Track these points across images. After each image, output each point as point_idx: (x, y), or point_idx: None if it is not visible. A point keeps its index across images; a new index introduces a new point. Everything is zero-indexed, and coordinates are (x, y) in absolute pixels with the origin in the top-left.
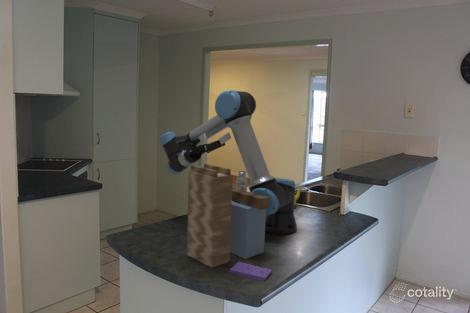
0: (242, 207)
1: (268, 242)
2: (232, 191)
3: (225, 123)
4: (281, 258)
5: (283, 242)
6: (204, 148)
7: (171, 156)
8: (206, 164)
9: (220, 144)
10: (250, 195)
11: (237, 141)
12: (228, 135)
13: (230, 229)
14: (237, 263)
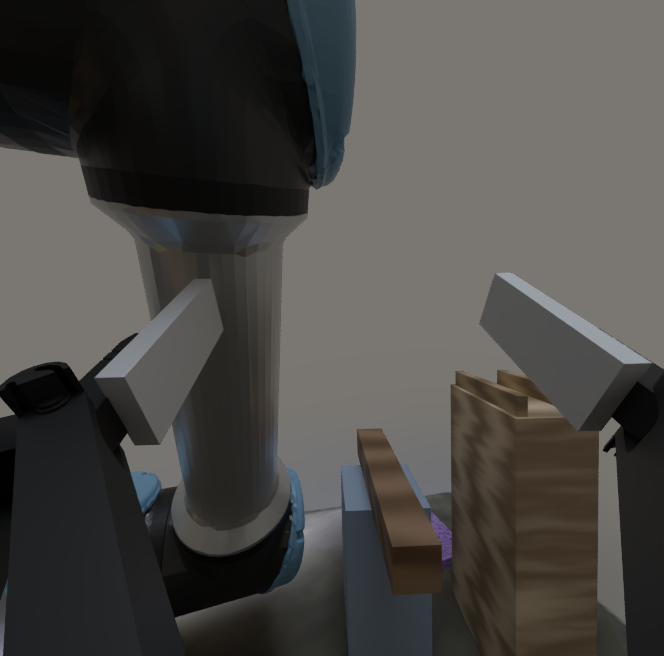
0: (411, 473)
1: (275, 628)
2: (407, 480)
3: (282, 200)
4: (336, 543)
5: (247, 601)
6: None
7: None
8: (517, 393)
9: (126, 461)
10: (386, 444)
11: (276, 336)
12: (214, 306)
13: (452, 514)
14: (443, 558)
